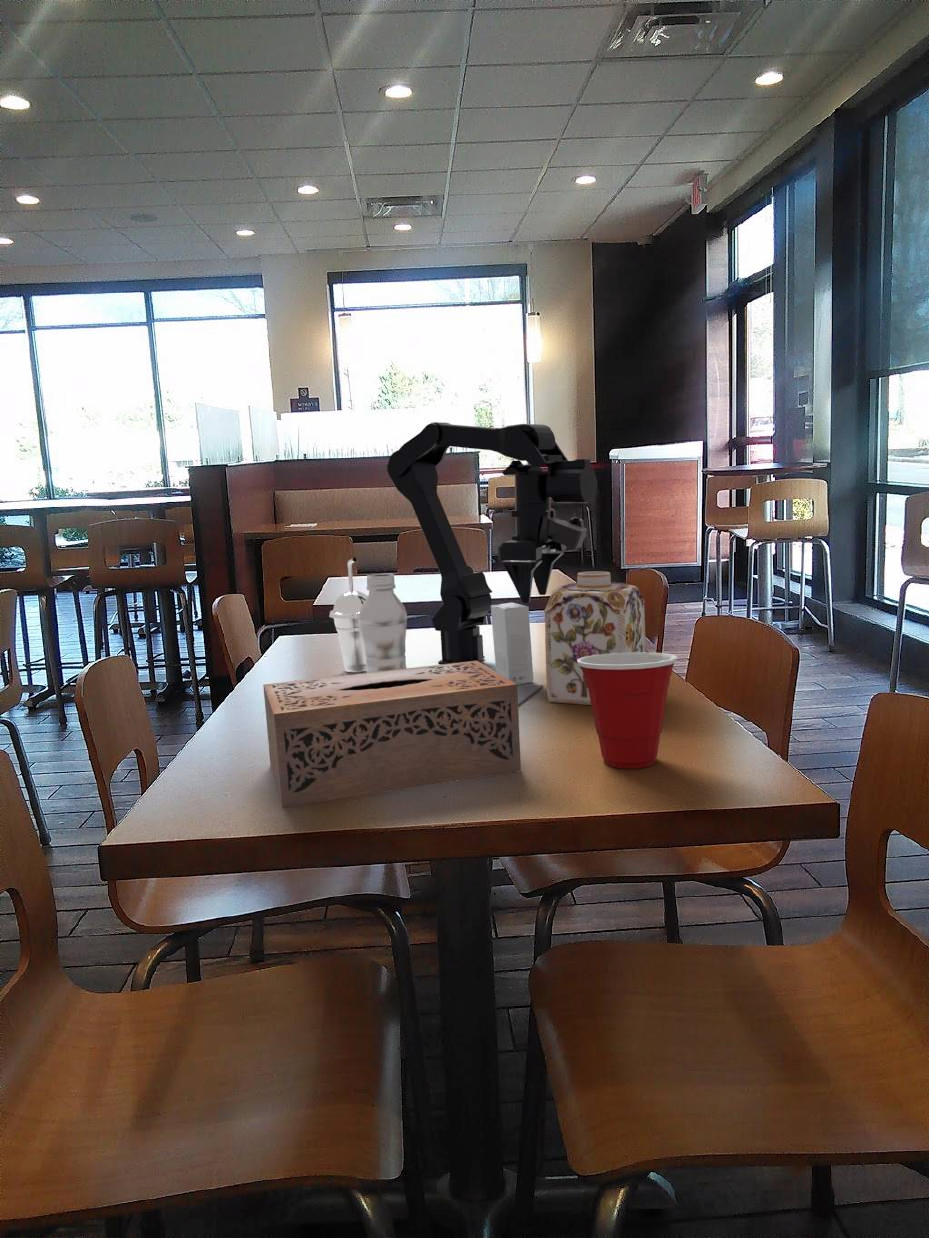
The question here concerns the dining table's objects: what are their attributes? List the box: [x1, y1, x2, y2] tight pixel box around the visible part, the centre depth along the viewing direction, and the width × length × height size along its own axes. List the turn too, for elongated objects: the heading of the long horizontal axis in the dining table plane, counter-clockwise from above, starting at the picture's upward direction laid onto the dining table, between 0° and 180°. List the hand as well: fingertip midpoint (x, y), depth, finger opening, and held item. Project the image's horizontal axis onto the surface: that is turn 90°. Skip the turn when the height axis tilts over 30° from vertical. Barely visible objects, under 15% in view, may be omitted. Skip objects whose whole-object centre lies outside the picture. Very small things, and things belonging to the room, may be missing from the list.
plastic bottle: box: [359, 573, 408, 673], centre depth 118 cm, size 6×7×20 cm
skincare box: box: [490, 602, 534, 684], centre depth 140 cm, size 6×4×12 cm
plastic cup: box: [577, 651, 678, 770], centre depth 98 cm, size 11×11×12 cm
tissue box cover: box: [262, 661, 522, 808], centre depth 99 cm, size 26×14×10 cm, turn 107°
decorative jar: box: [543, 570, 646, 706], centre depth 127 cm, size 12×12×18 cm
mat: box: [517, 683, 544, 707], centre depth 131 cm, size 12×14×1 cm
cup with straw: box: [328, 557, 368, 673], centre depth 153 cm, size 8×9×20 cm
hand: (534, 598), depth 146 cm, fingers open, 9 cm apart
